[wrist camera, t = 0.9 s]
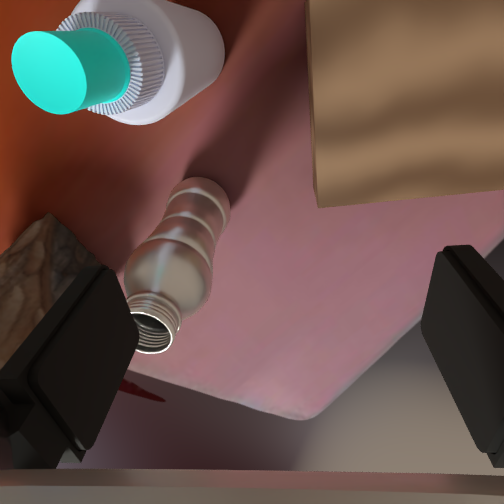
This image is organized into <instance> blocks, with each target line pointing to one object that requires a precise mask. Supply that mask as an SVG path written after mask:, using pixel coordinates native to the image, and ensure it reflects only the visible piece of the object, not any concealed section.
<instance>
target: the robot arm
mask: <svg viewBox="0 0 504 504" xmlns="http://www.w3.org/2000/svg"><path fill="white" fill-rule="evenodd" d="M421 331H422V334H423V337H424V339H425V341H426V343H427V345H428V347H429V349H430V351H431V353H432V355H433V357H434V359H435V362H436V364H437V366H438V368H439V370H440V372H441V374H442V376H443V378H444V380H445V382H446V384H447V386H448V388H449V391H450V392H451V394H452V397H453V399H454V401H455V403H456V405H457V407H458V409H459V411H460V413H461V415H462V417H463V419H464V421H465V424H466V426H467V428H468V430H469V432H470V434H471V436H472V438H473V440H474V442H475V444H476V446H477V448H478V449H479V450H480V451H481V452H482V453H487V455H488V457H489V459H490V461H491V463H492V465H493V467H494V468H504V280H503V279H502V278H501V277H500V276H499V275H498V274H497V273H496V272H495V270H494V269H493V268H492V267H491V266H490V265H489V264H488V263H487V262H486V261H485V260H484V258H483V257H482V256H481V255H480V254H479V253H478V252H477V251H476V250H475V249H474V248H473V247H472V246H471V245H454V246H446V247H445V248H444V249H443V251H441V252H438V253H437V255H436V258H435V262H434V267H433V271H432V276H431V280H430V284H429V289H428V293H427V298H426V302H425V306H424V311H423V315H422V320H421ZM139 339H140V335H139V330H138V328H137V325H136V323H135V320H134V318H133V316H132V313H131V311H130V308H129V306H128V303H127V301H126V298H125V296H124V293H123V291H122V289H121V286H120V284H119V281H118V279H117V276H116V274H115V272H114V271H113V270H111V269H109V267H107V266H106V265H96V266H86V267H84V268H83V269H82V270H81V272H80V273H79V274H78V275H77V276H76V278H75V279H74V280H73V281H72V283H71V284H70V285H69V286H68V288H67V289H66V290H65V291H64V292H63V294H62V295H61V296H60V297H59V299H58V300H57V301H56V302H55V303H54V305H53V306H52V307H51V308H50V310H49V311H48V312H47V313H46V314H45V316H44V317H43V318H42V319H41V321H40V322H39V323H38V324H37V326H36V327H35V328H34V329H33V330H32V332H31V333H30V334H29V335H28V337H27V338H26V339H25V340H24V341H23V343H22V344H21V345H20V346H19V348H18V349H17V350H16V351H15V352H14V354H13V355H12V356H11V357H10V359H9V360H8V361H7V362H6V363H5V365H4V366H3V367H2V368H1V370H0V504H504V476H491V475H464V474H431V473H377V472H375V473H374V472H372V473H371V472H323V471H256V470H255V471H254V470H253V471H251V470H177V469H176V470H175V469H172V470H171V469H56V467H57V465H58V463H59V461H61V462H62V463H81V462H82V459H83V457H84V455H85V453H86V450H89V449H90V448H91V447H92V446H93V445H94V442H95V441H96V438H97V436H98V433H99V432H100V429H101V427H102V425H103V422H104V420H105V418H106V415H107V413H108V411H109V409H110V406H111V404H112V402H113V400H114V398H115V395H116V393H117V391H118V389H119V386H120V384H121V382H122V379H123V377H124V375H125V372H126V370H127V368H128V366H129V364H130V361H131V359H132V357H133V355H134V352H135V350H136V348H137V346H138V343H139Z"/></svg>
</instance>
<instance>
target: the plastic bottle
mask: <svg viewBox="0 0 504 504" xmlns="http://www.w3.org/2000/svg"><path fill="white" fill-rule="evenodd" d="M229 220H230V203H229V199H228V197H227V194H226V193H225V191H224V190H223V189H222V188H221V187H220V186H219V185H218V184H217V183H216V182H214V181H212V180H210V179H207V178H204V177H191V178H188V179H185V180H184V181H182V182H181V183H179V184H178V185H177V186H175V187H174V188H173V190H172V191H171V193H170V196H169V198H168V202H167V205H166V211H165V213H164V216H163V218H162V221H161V222H160V223H159V225H158V226H157V227H156V229H155V230H154V231H153V233H152V234H151V235H150V236H149V237H148V238H147V239H146V240H145V241H144V242H143V243H142V244H141V245H139V246H138V247H137V248H136V249H135V251H134V252H133V253H132V254H131V256H130V257H129V259H128V260H127V263H126V266H125V272H124V285H125V289H126V293H127V296H128V298H127V299H126V301H127V303H128V306H129V308H130V311H131V313H132V316H133V318H134V320H135V323H136V325H137V328H138V330H139V335H140V339H139V343H138V346H137V348H136V350H135V351H138V352H141V353H146V354H157V353H161V352H164V351H166V350H167V349H168V348H169V347H170V346H171V344H172V343H173V341H174V338H175V336H176V333H177V332H178V331H179V329H180V326H181V324H182V320H185V319H187V318H189V317H191V316H193V315H194V314H196V313H197V312H198V311H199V310H200V309H201V308H202V307H203V305H204V304H205V303H206V302H207V300H208V298H209V296H210V292H211V287H212V273H213V257H214V252H215V246H216V244H217V242H218V239H219V237H220V235H221V234H222V233H223V232H224V230H225V228H226V226H227V224H228V222H229Z"/></svg>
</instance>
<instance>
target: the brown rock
mask: <svg viewBox="0 0 504 504" xmlns="http://www.w3.org/2000/svg"><path fill="white" fill-rule="evenodd" d="M96 265H101V264H100V263H99V262H97V261H96V259H95V256H94V255H93V254H92V253H90V252H89V251H87V250H86V248H85V247H84V246H83V245H82V244H81V243H79V242H78V240H77V238H76V236H75V235H74V234H73V233H72V232H71V231H70V230H69V229H68V228H67V227H65V226H64V225H62V224H61V223H60V222H59V221H58V220H57V219H56V218H55V217H54V216H53V215H52V214H50V213H49V212H48V213H47V214H46V215H45V217H44V218H43V219H40V220H37V221H35V222H33V223H32V224H31V225H30V226H29V227H28V228H27V229H26V230H25V231H24V232H23V233H22V234H21V235H20V236H19V237H18V238H17V240H16V241H15V242H14V243H13V244H12V245H11V246H10V247H9V248H8V249H7V250H5V251H4V252H3V253H2V254H1V255H0V370H1V368H2V367H3V366H4V365H5V363H6V362H7V361H8V360H9V359H10V357H11V356H12V355H13V354H14V352H15V351H16V350H17V349H18V348H19V346H20V345H21V344H22V343H23V341H24V340H25V339H26V338H27V337H28V335H29V334H30V333H31V332H32V330H33V329H34V328H35V327H36V326H37V324H38V323H39V322H40V321H41V319H42V318H43V317H44V316H45V314H46V313H47V312H48V311H49V310H50V308H51V307H52V306H53V305H54V303H55V302H56V301H57V300H58V299H59V297H60V296H61V295H62V294H63V292H64V291H65V290H66V289H67V288H68V286H69V285H70V284H71V283H72V281H73V280H74V279H75V278H76V276H77V275H78V274H79V273H80V272H81V270H82V269H83V268H84V267H86V266H96Z"/></svg>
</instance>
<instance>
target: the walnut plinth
mask: <svg viewBox="0 0 504 504" xmlns="http://www.w3.org/2000/svg"><path fill="white" fill-rule="evenodd" d="M305 22H306V43H307V63H308V84H309V105H310V126H311V147H312V168H313V188H314V192H315V197H316V201H317V205H318V208H325V207H335V206H345V205H355V204H365V203H375V202H385V201H395V200H405V199H415V198H425V197H435V196H445V195H455V194H465V193H475V192H485V191H495V190H503V189H504V0H307V1H306V2H305Z"/></svg>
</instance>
